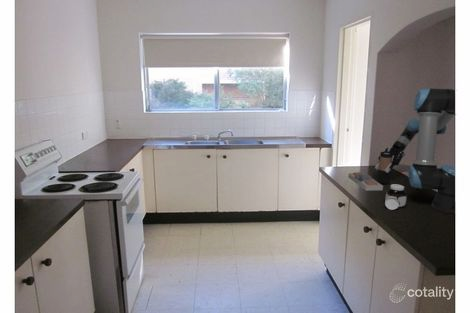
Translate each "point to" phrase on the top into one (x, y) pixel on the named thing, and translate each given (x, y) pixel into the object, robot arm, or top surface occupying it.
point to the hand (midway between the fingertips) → (381, 170)
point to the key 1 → (357, 174)
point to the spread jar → (395, 197)
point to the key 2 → (370, 182)
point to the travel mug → (384, 167)
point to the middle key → (364, 177)
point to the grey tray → (364, 185)
